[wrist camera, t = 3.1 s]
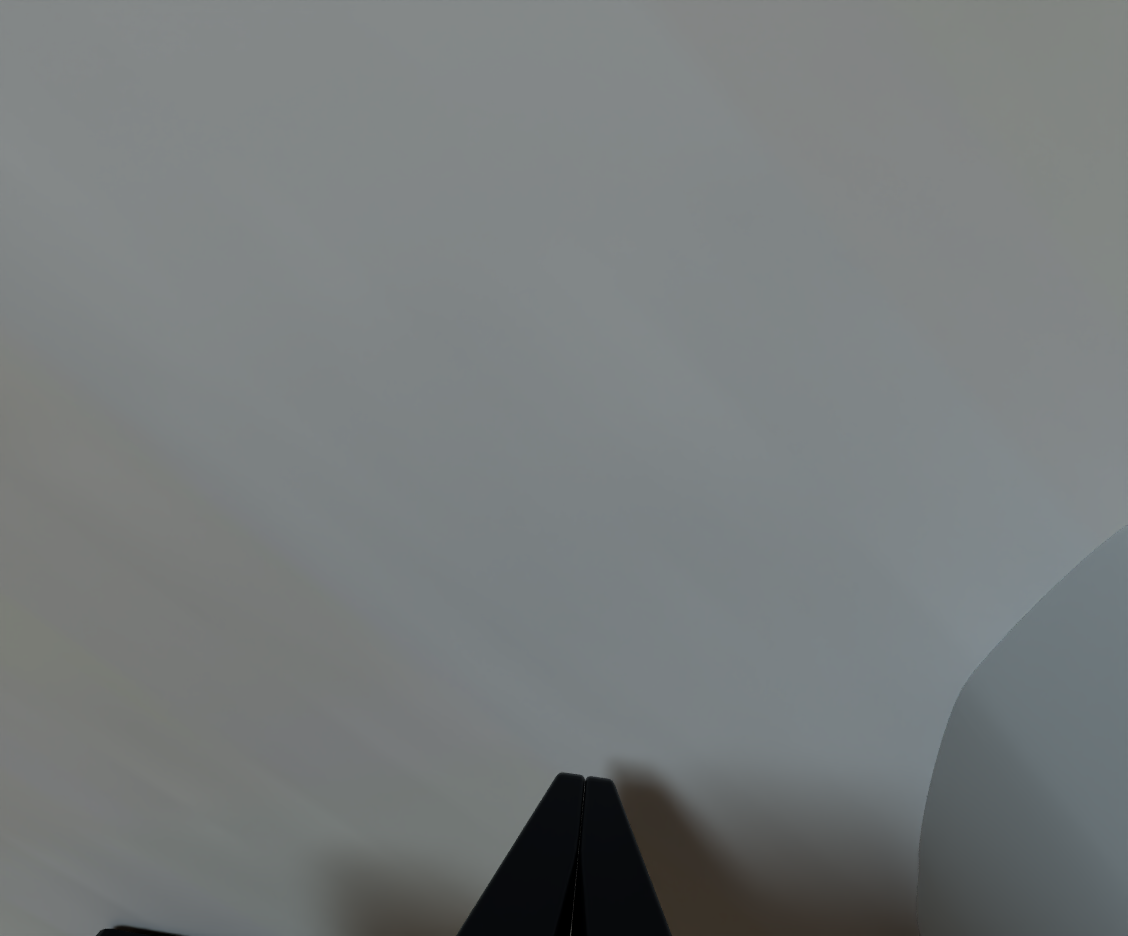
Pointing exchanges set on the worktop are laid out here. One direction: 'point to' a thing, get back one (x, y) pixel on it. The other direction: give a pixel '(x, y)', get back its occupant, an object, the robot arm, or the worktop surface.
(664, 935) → the robot arm
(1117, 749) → the lumpy-topped squat cylinder
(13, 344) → the worktop surface
